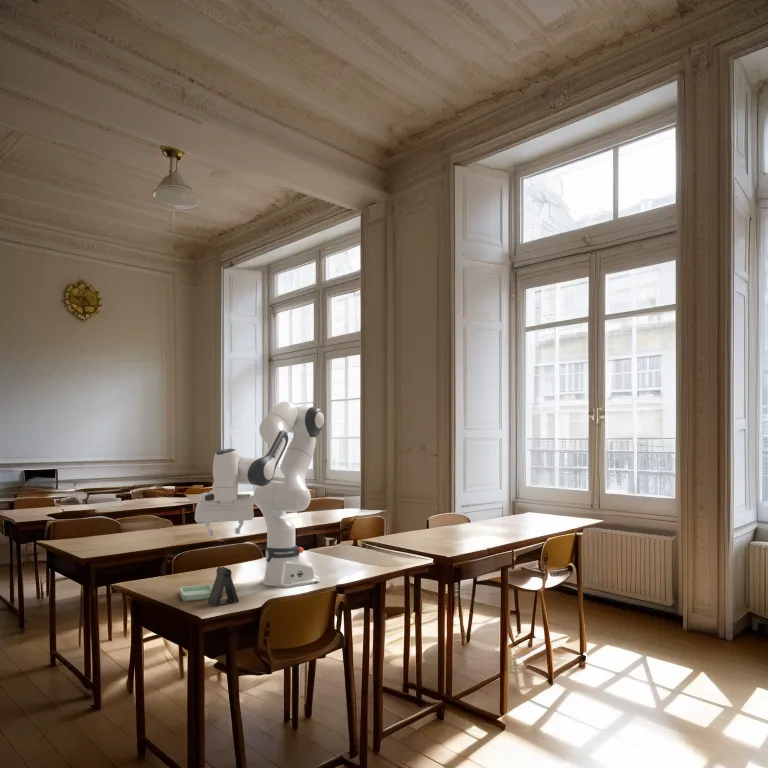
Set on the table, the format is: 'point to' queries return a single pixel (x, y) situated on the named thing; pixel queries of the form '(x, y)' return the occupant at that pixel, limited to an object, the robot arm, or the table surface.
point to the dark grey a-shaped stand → (220, 582)
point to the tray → (195, 592)
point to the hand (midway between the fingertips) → (224, 534)
